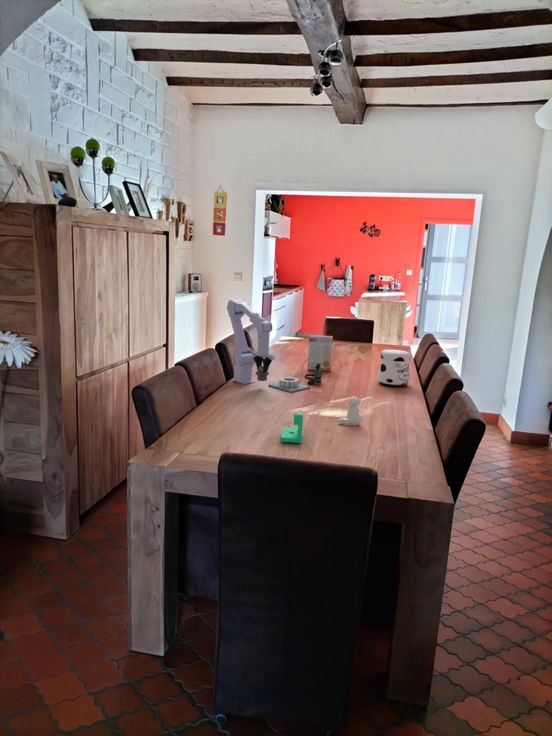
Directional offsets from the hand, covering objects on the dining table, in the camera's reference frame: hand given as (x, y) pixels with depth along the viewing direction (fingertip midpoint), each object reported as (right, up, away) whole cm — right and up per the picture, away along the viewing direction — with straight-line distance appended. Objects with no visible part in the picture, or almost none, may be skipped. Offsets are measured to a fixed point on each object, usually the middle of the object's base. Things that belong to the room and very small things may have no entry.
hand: (262, 371), depth 274 cm
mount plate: (+14, -8, +6) cm, 17 cm away
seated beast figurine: (+39, -22, -48) cm, 65 cm away
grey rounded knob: (0, -4, +1) cm, 4 cm away
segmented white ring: (+14, -8, +6) cm, 17 cm away
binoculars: (+27, -7, +17) cm, 33 cm away
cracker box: (+33, 0, +50) cm, 60 cm away
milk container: (+71, -8, +23) cm, 75 cm away
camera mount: (+13, -26, -70) cm, 75 cm away
